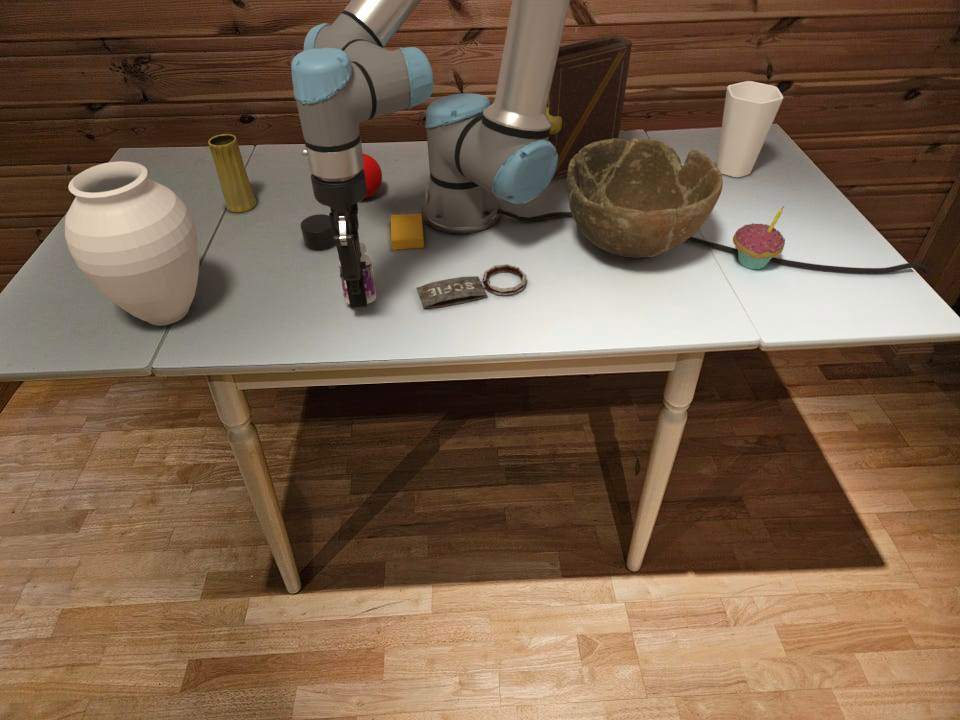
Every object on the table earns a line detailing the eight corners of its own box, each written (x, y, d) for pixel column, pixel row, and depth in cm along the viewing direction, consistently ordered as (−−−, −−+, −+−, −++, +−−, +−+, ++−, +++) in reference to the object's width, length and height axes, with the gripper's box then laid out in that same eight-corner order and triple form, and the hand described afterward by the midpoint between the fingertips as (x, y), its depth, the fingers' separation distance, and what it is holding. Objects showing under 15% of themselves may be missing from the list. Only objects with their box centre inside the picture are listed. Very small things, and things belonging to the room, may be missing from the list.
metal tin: (339, 231, 128) (335, 213, 125) (337, 249, 123) (333, 231, 121) (306, 233, 128) (302, 215, 125) (303, 251, 123) (298, 233, 120)
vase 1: (98, 353, 103) (19, 214, 86) (124, 285, 116) (60, 153, 99) (214, 340, 105) (160, 202, 88) (227, 275, 118) (182, 143, 101)
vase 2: (260, 198, 137) (243, 133, 128) (250, 213, 133) (231, 147, 123) (232, 197, 138) (213, 132, 128) (221, 212, 134) (200, 146, 124)
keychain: (414, 286, 115) (414, 277, 113) (518, 267, 119) (518, 258, 117) (424, 313, 109) (423, 304, 108) (532, 292, 113) (533, 283, 112)
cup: (700, 172, 143) (719, 94, 131) (717, 154, 149) (736, 77, 137) (751, 186, 139) (775, 106, 127) (766, 167, 145) (790, 89, 133)
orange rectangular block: (422, 222, 130) (421, 213, 129) (424, 247, 124) (423, 238, 122) (392, 224, 130) (390, 215, 128) (392, 249, 123) (391, 240, 122)
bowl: (601, 191, 138) (610, 122, 127) (725, 231, 126) (746, 158, 116) (531, 253, 122) (535, 180, 111) (666, 305, 110) (685, 229, 100)
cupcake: (776, 253, 121) (798, 195, 112) (775, 280, 115) (798, 221, 107) (728, 245, 123) (745, 187, 114) (725, 271, 117) (743, 212, 109)
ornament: (339, 188, 140) (331, 143, 133) (380, 182, 142) (374, 137, 135) (344, 209, 134) (336, 164, 127) (388, 202, 136) (382, 157, 129)
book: (598, 146, 152) (612, 32, 135) (622, 161, 147) (639, 44, 130) (519, 171, 145) (523, 52, 127) (541, 187, 139) (547, 66, 122)
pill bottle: (345, 307, 108) (336, 250, 104) (344, 298, 112) (335, 243, 109) (378, 303, 109) (370, 246, 105) (375, 294, 113) (368, 239, 110)
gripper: (313, 152, 96) (337, 283, 112) (306, 194, 87) (333, 331, 102) (365, 149, 97) (381, 280, 112) (363, 190, 87) (381, 327, 103)
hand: (358, 304), depth 107 cm, fingers closed
